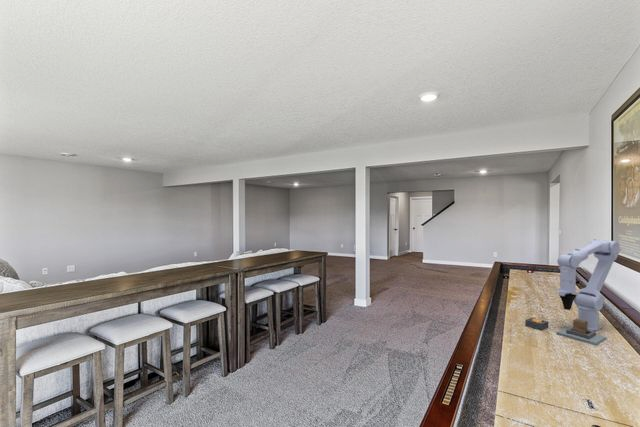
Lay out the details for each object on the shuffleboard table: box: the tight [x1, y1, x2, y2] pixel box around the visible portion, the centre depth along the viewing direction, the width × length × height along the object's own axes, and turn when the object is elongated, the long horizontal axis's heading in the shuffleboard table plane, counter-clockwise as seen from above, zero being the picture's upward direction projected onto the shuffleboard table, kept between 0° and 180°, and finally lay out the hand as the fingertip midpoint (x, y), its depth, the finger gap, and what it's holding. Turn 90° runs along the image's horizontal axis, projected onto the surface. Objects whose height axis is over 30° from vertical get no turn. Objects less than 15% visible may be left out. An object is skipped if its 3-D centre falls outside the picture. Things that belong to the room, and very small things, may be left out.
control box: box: [524, 317, 549, 331], centre depth 152 cm, size 7×7×3 cm
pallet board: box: [555, 326, 607, 346], centre depth 140 cm, size 13×14×2 cm
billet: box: [572, 318, 589, 334], centre depth 141 cm, size 4×4×6 cm
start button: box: [532, 318, 543, 323], centre depth 152 cm, size 4×4×2 cm
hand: (567, 309), depth 149 cm, fingers closed
